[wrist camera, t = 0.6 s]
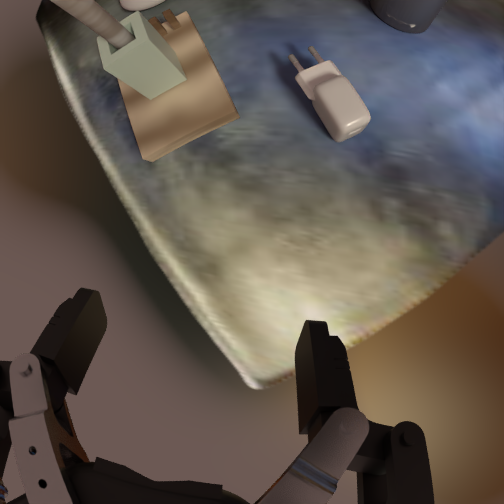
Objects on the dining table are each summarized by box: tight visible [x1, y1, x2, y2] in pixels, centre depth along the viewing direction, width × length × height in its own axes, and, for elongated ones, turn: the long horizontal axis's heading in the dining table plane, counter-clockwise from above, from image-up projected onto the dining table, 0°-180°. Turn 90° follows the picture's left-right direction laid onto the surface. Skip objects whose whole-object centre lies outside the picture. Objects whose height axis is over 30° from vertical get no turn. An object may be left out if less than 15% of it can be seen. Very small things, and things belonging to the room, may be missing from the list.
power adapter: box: [288, 46, 371, 142], centre depth 27 cm, size 11×5×6 cm, turn 28°
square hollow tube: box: [97, 11, 187, 100], centre depth 24 cm, size 5×5×10 cm
